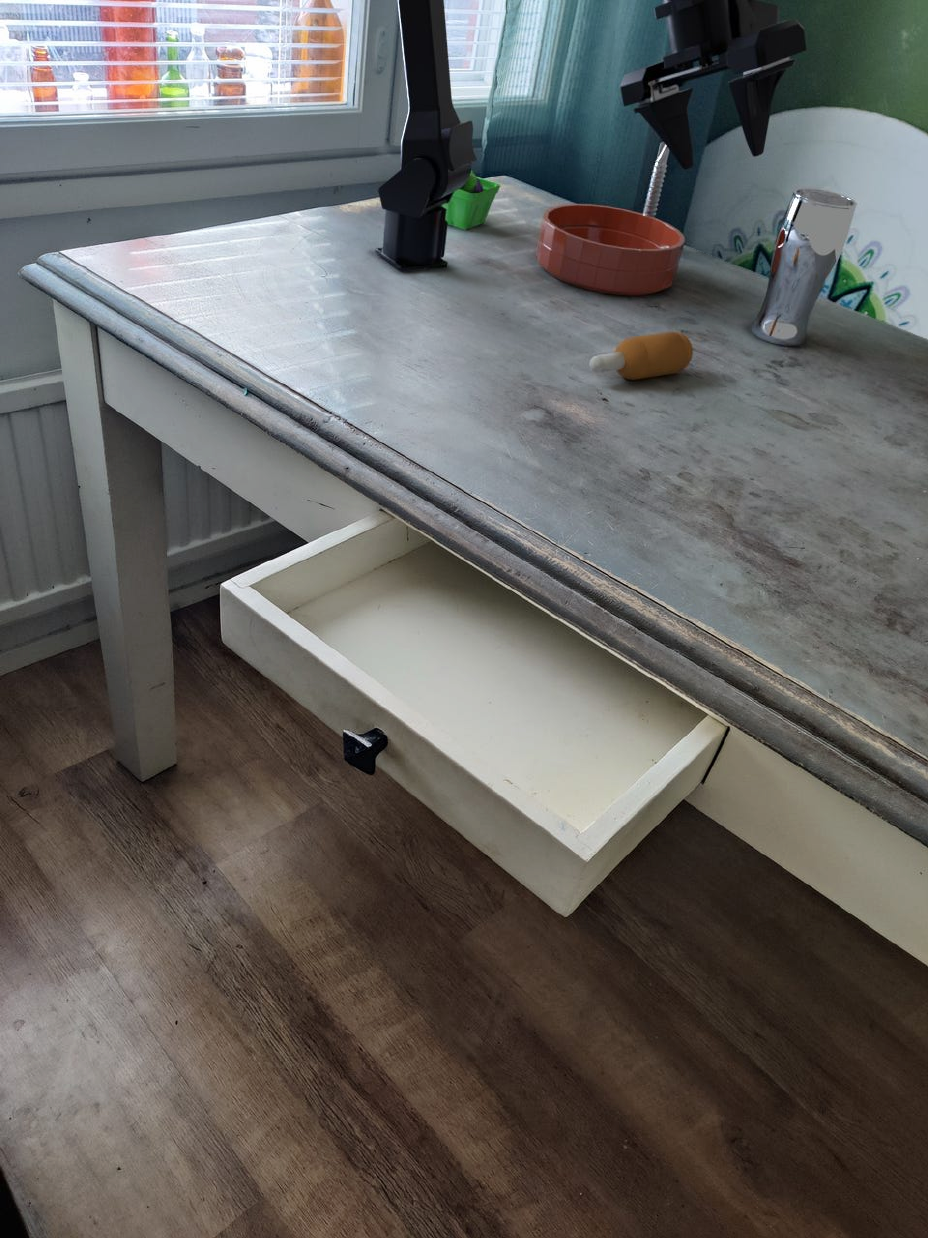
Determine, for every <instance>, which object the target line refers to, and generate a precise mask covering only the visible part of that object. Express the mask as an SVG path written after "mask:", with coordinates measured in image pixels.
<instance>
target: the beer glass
mask: <svg viewBox="0 0 928 1238" xmlns="http://www.w3.org/2000/svg"><path fill="white" fill-rule="evenodd" d="M857 205H858V203H857V202H856V200H854V199H853V198H851V197H848V196H846V195H844V194H841V193H838V192H835V191H830V190H826V189H821V188H816V187H815V188H813V187H796V188H795V189H794V190H793V192H792V195H791V197H790V200H789V201H788V204H787V207H786V209H785V212H784V215H783V217H782V220H781V222H780V226H779V227H778V231H777V235H776V238H775V240H774V241H775V242H774V245H773V246H774V247H773V251H772V256H771V262H770V266H769V267H770V269H769V275H768V282H767V287H766V293H765V296H764V299H763V302H762V305H761V307H760V309H759V312H758V313H757V315H756V317H755V319H754V321H753V322H752V325H751V328H750V329H751V332H752V334H753V335H754V336H755V337H756V338H759V339H761V340H763V341H765V342H768V343H770V344H774V345H777V346H778V345H779V346H784V347H797V346H800V345H803V344H804V343H805V342H806V341H805V340H806V337H807V332H808V325H809V321H810V316H811V313H812V311H813V308H814V306H815V304H816V302H817V300H818V299H819V297H820V295H821V293H822V290H824V287H825V286H826V284H827V282H828V280H829V278H830V277H831V275H832V273H833V271H834V269H835V267H836V265H837V263H838V262H839V259H840V257H841V254H842V251H843V250H844V247H845V244H846V241H847V238H848V235H849V232H850V229H851V225H852V222H853V218H854V215H855V210H856V208H857Z"/></svg>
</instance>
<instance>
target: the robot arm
mask: <svg viewBox="0 0 928 1238" xmlns="http://www.w3.org/2000/svg"><path fill="white" fill-rule="evenodd" d="M397 6H398V17H399V26H400V35H401V44H402V45H401V47H402V57H403V65H404V75H405V83H406V94H407V95H406V96H407V103H408V109H407V115H406V116H407V117H406V121H405V125H404V128H403V133H402V137H401V143H400V170H399V171H397V172H396V173H395V174H394V175H393V176H391V177H390V178H389V179H388V180H387V181H385V182H384V183H383V184H382V185H381V186H380V187H379V188H377V189H378V190H377V192H378V197H379V201H380V205H381V209H382V210H384V213H385V214H384V224H383V239H382V247H376V248H375V254H377V255H378V256H379V257H380V258H381V259H383V260H385V261H386V262H387V263H389V264H390V265H392V266H393V267H394V268H395V269H397V270H398V271H402V272H405V271H406V272H407V271H408V272H409V271H419V270H431V269H433V270H434V269H446V268H448V265H449V262H448V261H446V260H444V259H443V258H444V257H445V254H446V253H445V252H446V244H447V235H448V225H449V224H448V222H447V221H446V220H445V218H446V208H444V207H442V206H441V205H443V204H445V203H446V204H447V203H449V202H450V200H451V198H452V196H453V194H454V192H455V191H456V190H458V189H459V188H461V187H462V186H463V185H464V184H465V183H466V181H467V180H468V179H469V177H470V174H471V171H472V165H473V163H475V162H476V161H477V160H478V158H477V156H476V154H475V150H474V145H473V138H474V137H473V135H474V123H473V121H472V120H467V121H463V122H462V121H461V119H460V117H459V115H458V114H457V111H456V109H455V107H454V103H453V97H452V85H451V84H452V83H451V72H450V60H449V49H448V35H447V24H446V22H447V21H446V12H445V11H446V10H445V0H397ZM653 11H654V17H655V21H657V20H660V19H664V18H665V23H666V28H667V33H668V39H669V44H670V50H671V53H670V54H667V55H665V56H662V60H661V61H659V62H656V63H653V64H651V65H648V66H644V67H642V68H638V69H636V70H634V71H631V72H628V73H624V74H623V78H622V80H621V83H620V85H619V89H620V94H621V99H622V104H623V107H628V106H631V105H635V104H637V105H638V106H635V107H633V108H632V110H633V113H634V114H640V115H641V117H642V118H643V120H645V122H647V124H648V125H649V126H650V127H651V128H652V130H653V131H654V132H655V133H656V134H657V136H658V137H659V138H660V140H661V141H662V142H664V143H665V145H666V146H667V147H668V149H669V153H671V154H672V156H673V157H674V159H675V160H676V161H677V162H678V164H679V166H680V167H681V168H682V170H684V171H686V170H689V169H692V168H693V167H694V149H693V142H692V135H691V128H690V121H689V113H688V107H689V104H690V101H691V98H692V94H693V91H694V88H693V87H690V88H686V89H683V90H679V89H680V88H681V87H684V86H686V85H687V82H691V81H693V80H697V79H700V78H705V77H707V76H710V75H714V74H717V73H720V72H724V71H727V70H730V71H731V72H732V73H733V74H734V75H740V74H742V76H740V77H737V78H734V79H731V80H729V81H727V83H728V87H729V91H730V93H731V96H732V100H733V103H734V106H735V109H736V112H737V116H738V118H739V122H740V125H741V129H742V132H743V135H744V137H745V141H746V144H747V146H748V148H749V151H750V153H751V155H752V157H753V158H754V157H755V158H756V157H758V156H762V155H763V154H764V151H765V146H766V140H767V134H768V129H769V123H770V117H771V112H772V111H771V110H772V107H773V102H774V98H775V94H776V90H777V87H778V85H779V83H780V81H781V79H782V78H783V76H784V75H785V73H786V71H787V70H788V68H791V67H793V66H795V63H796V59H797V58H791V57H792V56H795V55H798V54H800V53H803V52H805V51H807V44H806V43H807V42H806V33H805V28H804V26H803V25H802V24H801V23H800V22H799V21H798V20H797V19H796V18H795V17H792V18H789V19H786V20H784V21H780V22H779V18H780V5H778V4H776V3H772V2H767V1H764V0H662V4H660V5H657V6H655V7H653ZM716 56H717V58H715V59H714V60H713V58H714V57H716ZM695 62H698V64H699V65H697V66H695V65H694V63H695Z"/></svg>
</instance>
